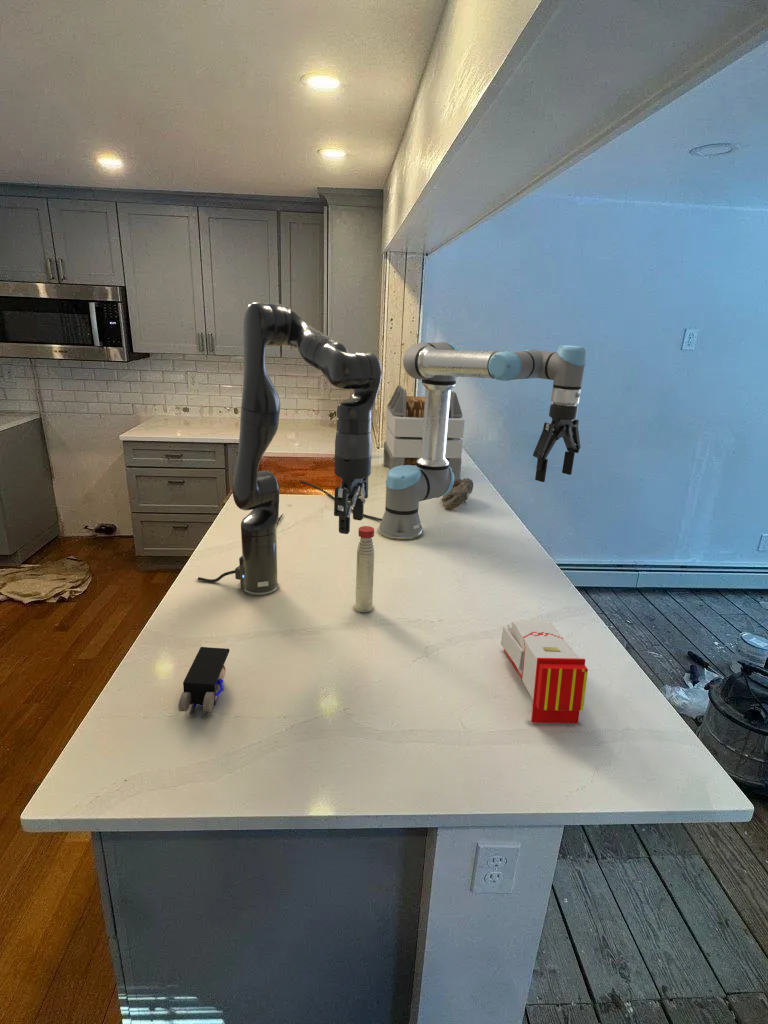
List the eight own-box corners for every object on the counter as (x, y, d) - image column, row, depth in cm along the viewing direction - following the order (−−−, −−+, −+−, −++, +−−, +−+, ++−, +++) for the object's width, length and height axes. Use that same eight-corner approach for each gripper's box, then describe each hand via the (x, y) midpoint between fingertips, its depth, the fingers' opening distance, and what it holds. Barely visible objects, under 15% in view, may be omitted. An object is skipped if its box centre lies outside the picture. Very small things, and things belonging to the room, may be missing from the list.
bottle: (355, 612, 147) (357, 533, 140) (355, 604, 152) (357, 526, 144) (371, 612, 148) (375, 533, 140) (372, 604, 152) (375, 527, 144)
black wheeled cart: (215, 728, 107) (233, 673, 120) (211, 698, 104) (230, 644, 117) (179, 727, 107) (201, 672, 120) (174, 697, 103) (197, 644, 117)
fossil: (437, 484, 244) (466, 465, 239) (450, 500, 247) (479, 482, 242) (436, 505, 224) (468, 485, 219) (450, 523, 227) (482, 504, 222)
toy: (547, 606, 135) (596, 665, 106) (541, 658, 138) (589, 729, 108) (496, 604, 134) (532, 664, 105) (492, 657, 137) (526, 729, 108)
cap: (358, 538, 141) (358, 531, 140) (358, 532, 144) (358, 525, 144) (374, 538, 141) (374, 532, 140) (374, 532, 144) (374, 526, 144)
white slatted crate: (382, 463, 289) (386, 382, 275) (445, 464, 293) (451, 384, 279) (390, 482, 257) (394, 392, 243) (460, 483, 261) (468, 394, 247)
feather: (290, 508, 223) (292, 504, 223) (272, 532, 197) (275, 527, 196) (286, 505, 223) (289, 501, 223) (268, 529, 197) (271, 525, 196)
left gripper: (348, 443, 124) (346, 513, 129) (322, 458, 111) (322, 535, 116) (381, 447, 122) (378, 518, 127) (358, 462, 109) (356, 540, 114)
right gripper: (550, 409, 147) (539, 487, 154) (600, 402, 163) (588, 473, 170) (526, 405, 152) (516, 480, 159) (577, 398, 168) (566, 468, 175)
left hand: (351, 526), depth 122 cm, fingers open, 8 cm apart
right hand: (553, 477), depth 165 cm, fingers open, 13 cm apart
